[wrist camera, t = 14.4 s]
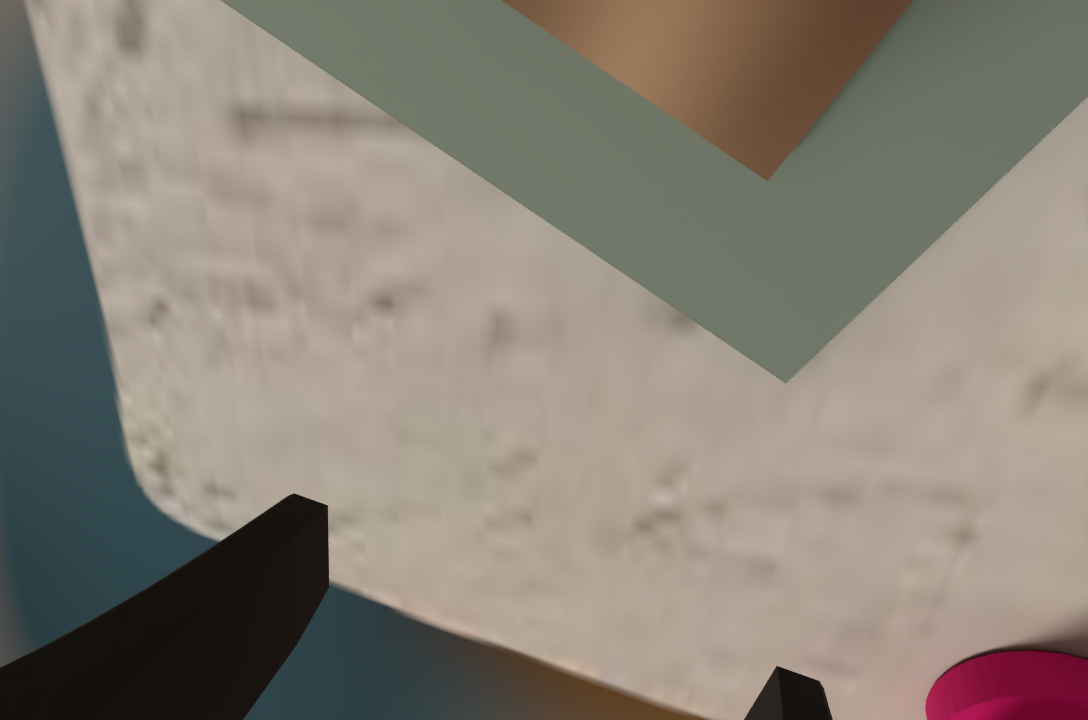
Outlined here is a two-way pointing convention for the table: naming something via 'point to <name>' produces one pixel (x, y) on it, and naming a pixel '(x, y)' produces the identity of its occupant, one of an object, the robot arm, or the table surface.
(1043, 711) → the pepper mill
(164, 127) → the table surface
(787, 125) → the lid
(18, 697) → the robot arm
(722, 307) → the mat
